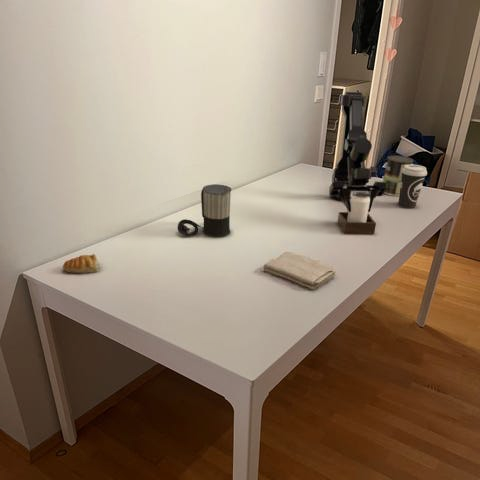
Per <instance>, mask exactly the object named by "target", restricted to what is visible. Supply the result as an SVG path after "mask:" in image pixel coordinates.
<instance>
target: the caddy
mask: <svg viewBox="0 0 480 480" xmlns="http://www.w3.org/2000/svg"><path fill="white" fill-rule="evenodd" d="M347 218H348V211H347V212H346V211H338V215H337V224H338V226H339V228H340V229H341V231H342V233H343V234H344V235H375V232H376V226H377V223H376V221H375V220H374V219H373V217H372V216H371V214H370V212H368V215H367V220H366V222H347Z"/></svg>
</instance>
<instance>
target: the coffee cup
mask: <svg viewBox="0 0 480 480" xmlns="http://www.w3.org/2000/svg"><path fill="white" fill-rule="evenodd" d="M401 172H402V179H401V187H400V194H399V196H398V207H401V208H404V209H415V208H416V205H417V202H418V199H419V196H420V193H421V190H422V187H423V184H424V181H425V178H426V176H427V175H428V171H427V167H425V166H423V165H420V164H412V165H405V166H404V168H403V169H402V171H401Z"/></svg>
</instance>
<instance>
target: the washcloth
mask: <svg viewBox="0 0 480 480" xmlns="http://www.w3.org/2000/svg"><path fill="white" fill-rule="evenodd" d="M262 267H263V268H262V269H263V270H264V271H266V272H268V273H270V274H272V275H275V276H278V277H281V278H283V279H287V280H288V281H292V282H294V283H295V284H298V285H300V286H302V287H306V288H309V290H312V291H313V290H316V289H317V288H318V287H321V286H323V285H324V284H325V283H326V282H328V281H330V280H331V279H333V278H334V277H335V276H336V271H335V270H333V269H334V268H333V266H329V265H326V264H324V263H322V261H321V260H317V259H313V258H310V257H308V256H305V255H301V254H298V253H295V252H292V251H285V252H284V253H282V254H280V255H279V256H278V257H277V258H274V259H271V260H270V261H267V262H266V263H264V264H263V266H262Z"/></svg>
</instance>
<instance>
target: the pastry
mask: <svg viewBox="0 0 480 480" xmlns="http://www.w3.org/2000/svg"><path fill="white" fill-rule="evenodd" d="M62 268H63V270H64V271H66V272H68V273H72V274H74V273H75V274H87V273H90V274H92V273H95V272H98V271H99V261H98V259H97V255H96V254H95V253H93V254H82V255H81V254H80V255H79V256H76V257H74V258H70V259H68V260H66V261H65V262H64V263H63V265H62Z"/></svg>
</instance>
